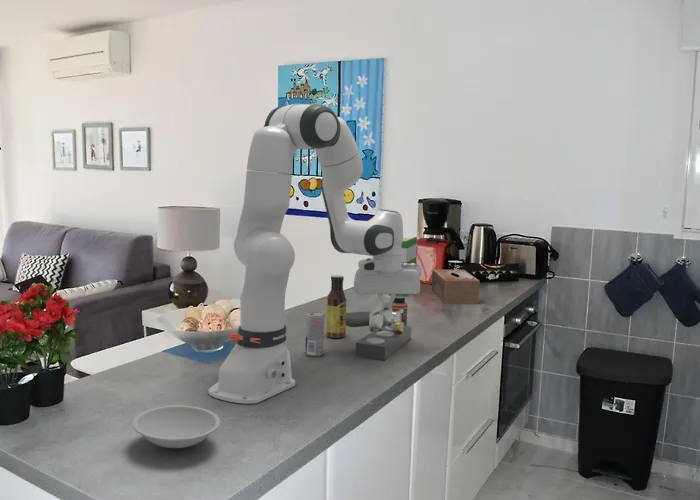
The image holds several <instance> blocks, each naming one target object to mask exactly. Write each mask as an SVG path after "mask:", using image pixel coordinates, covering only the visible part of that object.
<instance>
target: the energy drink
mask: <svg viewBox="0 0 700 500" xmlns="http://www.w3.org/2000/svg"><path fill="white" fill-rule="evenodd" d="M324 343H325V314H324V313H323V312H321V311H311V312H310V311H309V312H307V313H306V315H305V347H304V349H305V354H306V356H309V357H320V356H322V355H323V354H324V351H325V350H324V347H325V345H324Z"/></svg>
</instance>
